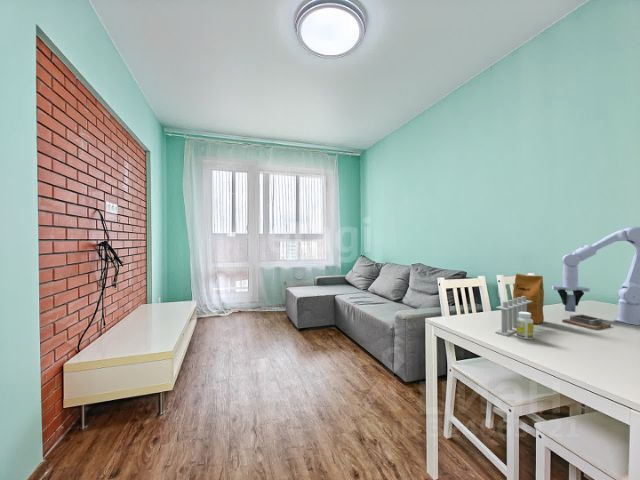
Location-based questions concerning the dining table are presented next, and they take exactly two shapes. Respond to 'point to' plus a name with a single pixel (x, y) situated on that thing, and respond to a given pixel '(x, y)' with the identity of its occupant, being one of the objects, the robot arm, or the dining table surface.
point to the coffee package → (531, 294)
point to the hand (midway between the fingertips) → (570, 304)
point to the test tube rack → (511, 314)
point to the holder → (586, 322)
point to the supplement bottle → (525, 325)
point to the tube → (570, 303)
